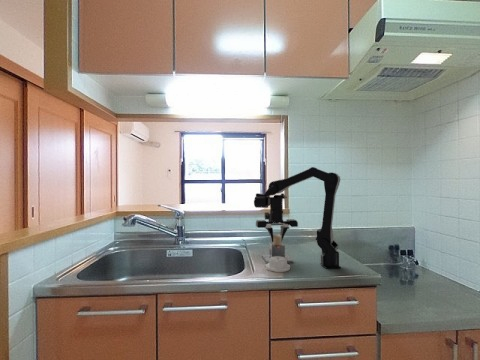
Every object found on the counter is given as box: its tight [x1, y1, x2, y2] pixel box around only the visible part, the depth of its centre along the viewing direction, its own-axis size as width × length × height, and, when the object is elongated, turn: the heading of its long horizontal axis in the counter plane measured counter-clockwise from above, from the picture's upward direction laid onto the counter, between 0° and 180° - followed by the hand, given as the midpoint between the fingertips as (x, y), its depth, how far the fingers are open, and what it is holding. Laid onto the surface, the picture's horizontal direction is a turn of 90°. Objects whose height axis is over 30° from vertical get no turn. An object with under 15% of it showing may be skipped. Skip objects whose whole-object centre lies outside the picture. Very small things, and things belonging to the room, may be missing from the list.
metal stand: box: [261, 242, 294, 265], centre depth 126 cm, size 12×12×7 cm
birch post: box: [271, 233, 283, 246], centre depth 126 cm, size 4×4×10 cm
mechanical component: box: [265, 256, 291, 273], centre depth 114 cm, size 10×4×10 cm
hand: (276, 242), depth 126 cm, fingers closed on birch post, 4 cm apart
